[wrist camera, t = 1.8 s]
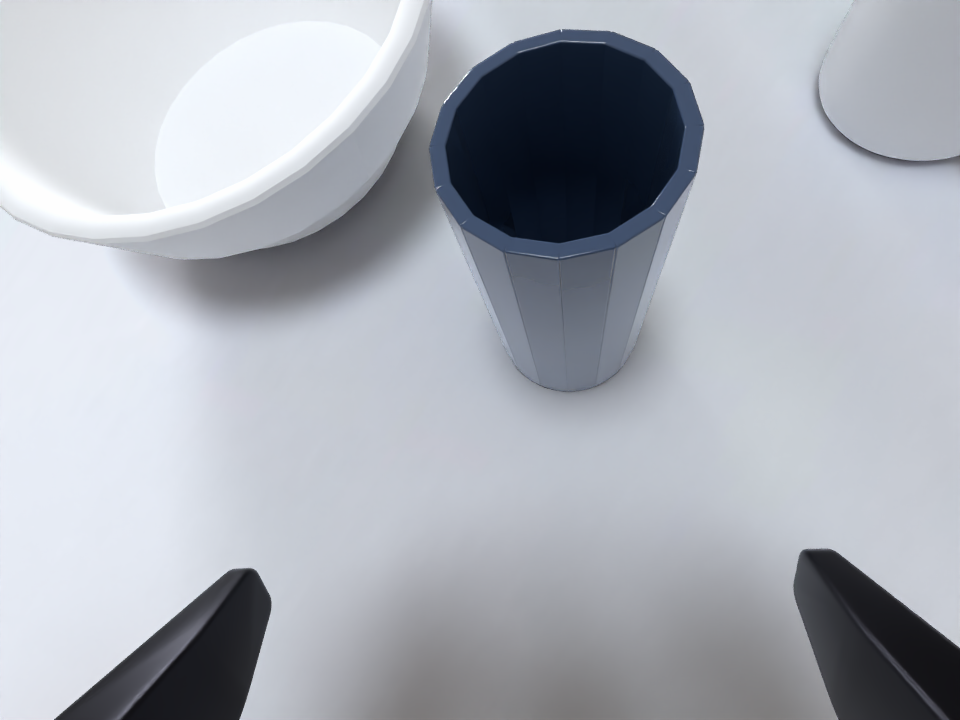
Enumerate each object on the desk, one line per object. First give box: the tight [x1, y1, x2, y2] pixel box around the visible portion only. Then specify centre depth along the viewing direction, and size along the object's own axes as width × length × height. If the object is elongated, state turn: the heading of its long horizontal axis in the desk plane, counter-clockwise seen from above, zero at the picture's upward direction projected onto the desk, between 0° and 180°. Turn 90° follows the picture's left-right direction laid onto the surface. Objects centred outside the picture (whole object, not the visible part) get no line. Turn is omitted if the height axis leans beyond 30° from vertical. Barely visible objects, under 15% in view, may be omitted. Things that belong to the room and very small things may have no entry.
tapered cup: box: [429, 29, 704, 391], centre depth 18 cm, size 6×6×13 cm
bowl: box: [0, 0, 432, 260], centre depth 26 cm, size 22×22×8 cm
